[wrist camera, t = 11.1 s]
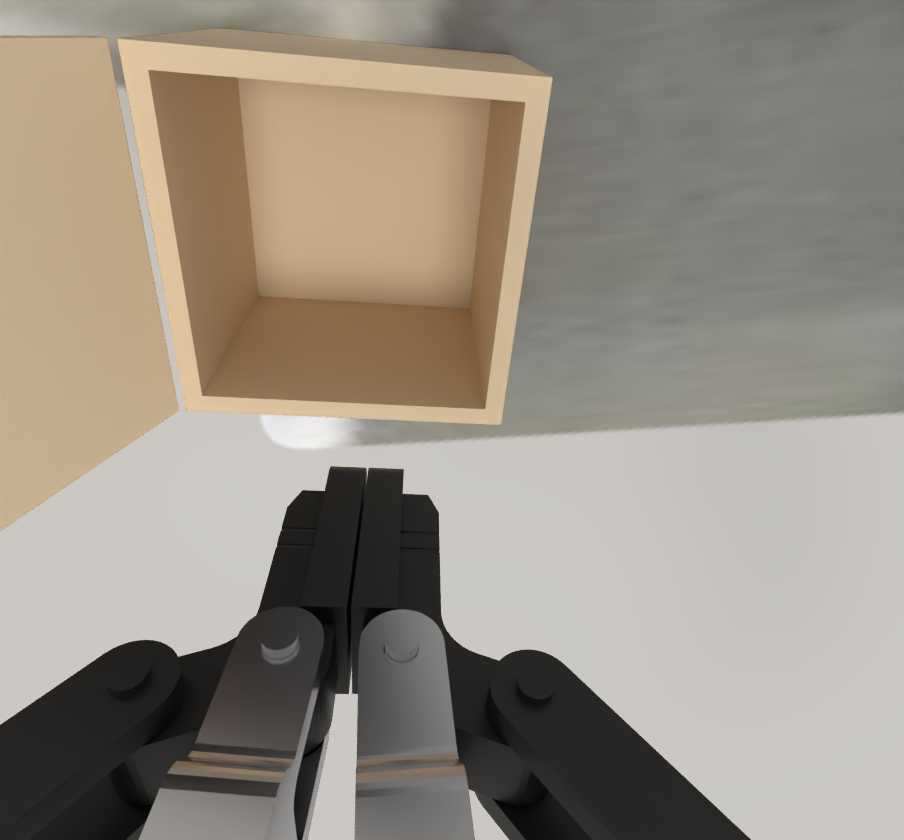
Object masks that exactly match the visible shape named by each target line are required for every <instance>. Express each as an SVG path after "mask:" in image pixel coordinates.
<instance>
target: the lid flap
mask: <svg viewBox="0 0 904 840" xmlns="http://www.w3.org/2000/svg"><path fill="white" fill-rule="evenodd" d="M178 410H179V409H178V403H177V397H176V392H175V387H174V383H173V377H172V372H171V367H170V362H169V356H168V351H167V346H166V341H165V335H164V330H163V325H162V321H161V315H160V309H159V304H158V299H157V294H156V289H155V284H154V278H153V274H152V268H151V263H150V258H149V253H148V247H147V242H146V237H145V232H144V227H143V221H142V216H141V211H140V206H139V200H138V196H137V190H136V185H135V180H134V175H133V169H132V165H131V159H130V154H129V148H128V143H127V138H126V133H125V128H124V123H123V117H122V113H121V107H120V102H119V97H118V91H117V86H116V81H115V76H114V71H113V65H112V60H111V55H110V50H109V45H108V40H107V38H105V37H97V36H0V531H1V530H3V529H4V528H6V527H7V526H9V525H10V524H12V523H13V522H15V521H16V520H18V519H19V518H21V517H22V516H23V515H25V514H27V513H28V512H30V511H31V510H33V509H34V508H35V507H37V506H38V505H40V504H41V503H43V502H44V501H46V500H47V499H49V498H50V497H52V496H53V495H55V494H56V493H58V492H59V491H60V490H62V489H63V488H65V487H66V486H68V485H69V484H71V483H72V482H74V481H75V480H77V479H78V478H80V477H81V476H83V475H84V474H86V473H87V472H88V471H90V470H92V469H93V468H95V467H96V466H97V465H99V464H100V463H102V462H103V461H105V460H106V459H108V458H109V457H111V456H112V455H114V454H115V453H117V452H118V451H119V450H121V449H122V448H124V447H125V446H127V445H128V444H130V443H131V442H133V441H134V440H136V439H137V438H139V437H140V436H142V435H143V434H145V433H146V432H148V431H149V430H151V429H152V428H154V427H155V426H157V425H158V424H159V423H161V422H162V421H164V420H165V419H167V418H168V417H170V416H171V415H173V414H174V413H176V412H177V411H178Z"/></svg>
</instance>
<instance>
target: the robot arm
mask: <svg viewBox="0 0 904 840" xmlns="http://www.w3.org/2000/svg"><path fill="white" fill-rule="evenodd" d="M403 471H404V470H403V469H384V468H369V470H368V477H367V471H366V468H356V467H333V466H332V467H330V470H329V474H328V479H327V483H326V488H325V491H307V490H303V491H302V492H301V493H300V494H299V495H298V496H297V497H296V498H295V499H294V501H293V502H292V503H291V504H290V505H289V506H288V507H287V511H286V514H285V518H284V521H283V525H282V531H281V532H280V536H279V539H278V543H277V548H276V550H275V553H274V557H273V561H272V564H271V568H270V571H269V575H268V579H267V582H266V586H265V589H264V593H263V596H262V600H261V604H260V607H259V610H258V613H257V615H256V616H254V617H253V618H252V619H250V620H249V621H248V622H247V623H246V624H245V625H244V626H243V628H242V629H241V630H240V632H239V634H238V636H237V637H236V638H234V639H232V640H230V641H229V642H227V643H225V644H222V645H220V646H217V647H214V648H211V649H207V650H203V651H199V652H195V653H191V654H187V655H184V656H180V657H178V656H177V654H176V653H175V652H174V650H173V649H172V648H170V647H169V646H168V645H166V644H164V643H161V642H158V641H153V640H152V641H151V640H140V641H133V642H129V643H126V644H123V645H120V646H118V647H116V648H113V649H111V650H110V651H108V652H107V653H105V654H103V655H102V656H100V657H99V658H97V659H96V660H95V661H93V662H92V663H90V664H89V665H87V666H86V667H84V668H83V669H81V670H80V671H78V672H77V673H76V674H74V675H73V676H71V677H70V678H68V679H67V680H65V681H64V682H62V683H61V684H60V685H58V686H56V687H55V688H54V689H52V690H51V691H49V692H48V693H46V694H45V695H44V696H42V697H41V698H39V699H37V700H36V701H35V702H33V703H32V704H30V705H29V706H28V707H26V708H24V709H23V710H21V711H20V712H18V713H17V714H16V715H14V716H13V717H11V718H10V719H8V720H7V721H5V722H4V723H2V724H1V725H0V840H308V835H309V830H310V825H311V820H312V816H313V811H314V807H315V802H316V797H317V792H318V788H319V782H320V778H321V773H322V769H323V764H324V759H325V754H326V750H327V745H328V740H329V729H330V726H331V722H332V716H333V708H334V701H335V694H349V686H350V677H351V668H352V693H353V694H358V719H357V721H358V722H357V768H356V794H355V795H356V798H355V840H475V838H474V829H473V821H472V813H471V805H470V797H469V789H470V790H472V791H475V793H476V796H477V798H478V800H479V801H480V803H481V804H482V806H483V807H484V808H485V810H486V811H487V812H488V813H489V815H490V816H491V817H492V818H493V820H494V821H495V822H496V823H497V825H498V826H499V827H500V828H501V830H502V831H503V832H504V834H505V835H506V836H507V837H508V839H509V840H751V839H750V838H749V837H747V836H746V835H745V834H744V833H743V832H742V831H741V830H740V829H739V828H738V827H737V826H736V825H735V824H733V823H732V822H731V821H730V820H729V819H728V818H727V817H726V816H725V815H724V814H723V813H722V812H721V811H720V810H718V808H717V807H715V806H714V805H713V804H712V803H711V802H710V801H709V800H708V799H707V798H706V797H705V796H704V795H703V794H702V793H701V792H699V791H698V790H697V789H696V788H695V787H694V786H693V785H692V784H691V783H690V782H689V781H688V780H687V779H686V778H685V777H684V776H682V775H681V774H680V773H679V772H678V771H677V770H676V769H675V768H674V767H673V766H672V765H671V764H669V762H667V760H665V759H664V758H663V757H662V756H661V755H660V754H659V753H658V752H657V751H656V750H655V749H654V748H653V747H651V745H649V744H648V743H647V742H646V741H645V740H644V739H643V738H642V737H641V736H640V735H639V734H638V733H637V732H636V731H635V730H633V729H632V728H631V727H630V726H629V725H628V724H627V723H626V722H625V721H624V720H623V719H622V718H621V717H620V716H619V715H617V714H616V713H615V712H614V711H613V710H612V709H611V708H610V707H609V706H608V705H607V704H606V703H605V702H604V701H603V700H601V699H600V698H599V697H598V696H597V695H596V694H595V693H594V692H593V691H592V690H591V689H590V688H589V687H588V686H587V685H585V683H583V682H582V681H581V680H580V679H579V678H578V677H577V676H576V675H575V674H574V673H573V672H572V671H571V670H570V669H569V668H567V667H566V666H565V665H564V664H563V663H562V662H561V661H559V660H558V659H556V658H554V657H553V656H551V655H549V654H546V653H544V652H541V651H536V650H520V651H515V652H512V653H510V654H508V655H506V656H505V657H503V658H502V659H501V660H500V661H498V660H495V659H491V658H489V657H486V656H483V655H479V654H477V653H474V652H472V651H469V650H468V649H466V648H464V647H462V646H461V645H460V644H458V643H457V642H456V641H455V640H454V639H453V638H452V637H451V636H450V634H449V633H448V632H447V630H446V628H445V626H444V624H443V621H442V617H441V594H440V554H439V513H438V511H437V509H436V508H435V506H434V504H433V503H432V501H431V499H430V498H429V496H428V495H414V494H413V495H412V494H403Z"/></svg>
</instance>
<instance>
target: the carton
mask: <svg viewBox="0 0 904 840" xmlns="http://www.w3.org/2000/svg"><path fill="white" fill-rule="evenodd" d="M117 41H118V47H119V52H120V57H121V63H122V68H123V74H124V79H125V84H126V90H127V95H128V100H129V106H130V111H131V117H132V122H133V127H134V133H135V138H136V143H137V149H138V154H139V160H140V165H141V171H142V176H143V181H144V186H145V192H146V197H147V203H148V208H149V214H150V219H151V224H152V230H153V235H154V241H155V246H156V252H157V256H158V262H159V268H160V272H161V278H162V284H163V289H164V295H165V300H166V305H167V311H168V316H169V322H170V327H171V332H172V337H173V343H174V349H175V354H176V359H177V364H178V370H179V376H180V381H181V386H182V392H183V397H184V402H185V408H186V411H206V412H227V413H249V414H271V415H294V416H316V417H338V418H360V419H382V420H404V421H426V422H449V423H471V424H493V425H501V420H502V413H503V407H504V400H505V393H506V387H507V380H508V373H509V367H510V360H511V353H512V347H513V340H514V333H515V326H516V320H517V313H518V306H519V300H520V293H521V286H522V280H523V273H524V266H525V260H526V253H527V246H528V240H529V233H530V226H531V220H532V213H533V206H534V200H535V193H536V186H537V179H538V173H539V166H540V159H541V153H542V146H543V139H544V133H545V126H546V119H547V113H548V106H549V99H550V93H551V86H552V79H553V78H552V77H551V76H549V75H547V74H545V73H543V72H541V71H540V70H538V69H536V68H534V67H532V66H530V65H528V64H527V63H525V62H523V61H521V60H519V59H517V58H516V57H514V56H512V55H508V54H497V53H486V52H476V51H465V50H454V49H443V48H432V47H421V46H410V45H399V44H389V43H378V42H367V41H356V40H345V39H334V38H323V37H312V36H301V35H291V34H280V33H269V32H258V31H247V30H236V29H225V28H216V29H206V30H196V31H187V32H177V33H167V34H157V35H148V36H138V37H128V38H119V39H117Z"/></svg>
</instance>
